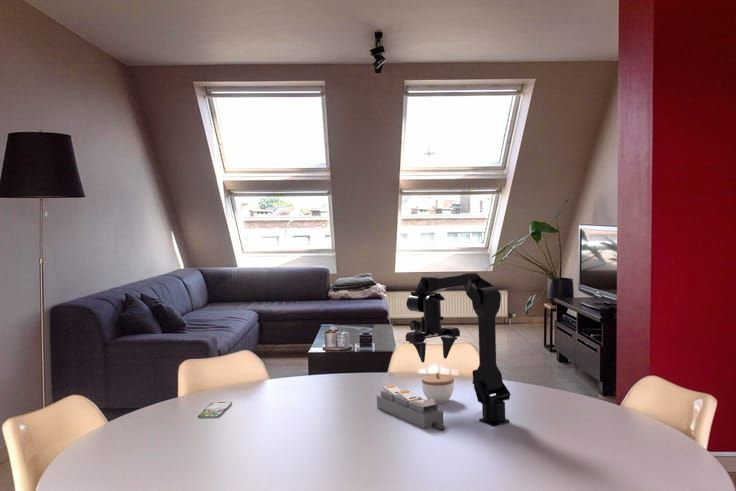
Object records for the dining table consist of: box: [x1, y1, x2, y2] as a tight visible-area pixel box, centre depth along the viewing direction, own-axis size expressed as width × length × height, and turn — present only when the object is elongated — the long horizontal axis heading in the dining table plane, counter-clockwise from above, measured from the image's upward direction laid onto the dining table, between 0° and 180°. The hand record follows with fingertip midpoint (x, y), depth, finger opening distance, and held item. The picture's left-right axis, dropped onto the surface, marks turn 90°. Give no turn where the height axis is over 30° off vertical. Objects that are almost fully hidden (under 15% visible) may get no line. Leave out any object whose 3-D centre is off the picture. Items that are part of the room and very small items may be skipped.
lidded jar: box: [421, 372, 455, 405], centre depth 201 cm, size 11×11×9 cm
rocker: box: [383, 384, 403, 399], centre depth 193 cm, size 6×4×2 cm, turn 31°
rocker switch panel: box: [376, 390, 445, 431], centre depth 185 cm, size 30×7×6 cm, turn 31°
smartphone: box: [197, 401, 233, 419], centre depth 199 cm, size 7×1×15 cm
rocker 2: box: [398, 389, 419, 403], centre depth 186 cm, size 6×4×2 cm, turn 31°
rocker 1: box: [412, 398, 435, 407], centre depth 180 cm, size 6×4×2 cm, turn 31°
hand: (434, 360), depth 200 cm, fingers open, 9 cm apart
